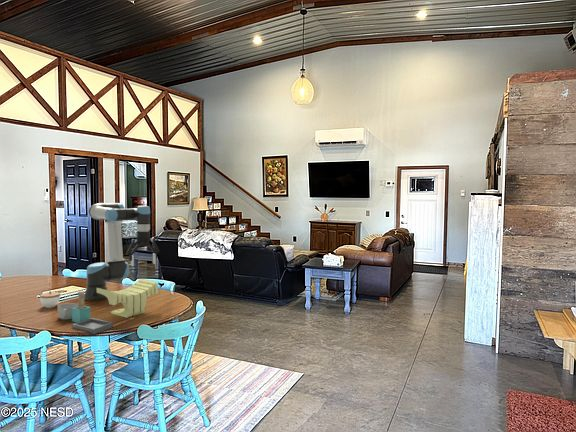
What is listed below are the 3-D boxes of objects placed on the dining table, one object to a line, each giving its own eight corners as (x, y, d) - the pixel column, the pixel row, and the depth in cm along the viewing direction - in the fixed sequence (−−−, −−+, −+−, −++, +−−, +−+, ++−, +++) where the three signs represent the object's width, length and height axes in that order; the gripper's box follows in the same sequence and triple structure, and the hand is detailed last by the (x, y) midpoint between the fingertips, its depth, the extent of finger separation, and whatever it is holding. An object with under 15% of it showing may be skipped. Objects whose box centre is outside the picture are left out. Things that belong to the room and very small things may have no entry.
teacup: (63, 315, 226) (63, 302, 226) (82, 315, 227) (82, 302, 226) (50, 323, 212) (50, 309, 212) (71, 323, 213) (71, 309, 213)
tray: (72, 329, 205) (72, 324, 205) (92, 322, 216) (92, 317, 216) (93, 334, 198) (93, 329, 198) (113, 327, 209) (113, 322, 209)
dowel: (76, 320, 216) (76, 292, 215) (81, 319, 218) (81, 291, 217) (80, 321, 214) (80, 292, 213) (85, 320, 217) (85, 291, 216)
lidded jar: (64, 305, 247) (64, 290, 246) (48, 309, 237) (48, 294, 236) (51, 303, 250) (51, 288, 250) (35, 307, 240) (35, 292, 240)
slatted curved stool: (114, 323, 215) (114, 291, 214) (96, 318, 223) (96, 287, 222) (157, 310, 240) (158, 282, 239) (140, 306, 248) (140, 278, 247)
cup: (72, 322, 215) (71, 308, 214) (82, 319, 221) (82, 305, 220) (80, 324, 212) (80, 309, 212) (90, 321, 218) (90, 306, 218)
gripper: (124, 232, 231) (124, 267, 232) (165, 230, 247) (165, 263, 248) (120, 231, 236) (120, 265, 238) (160, 229, 252) (160, 262, 254)
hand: (143, 264), depth 243 cm, fingers open, 13 cm apart
